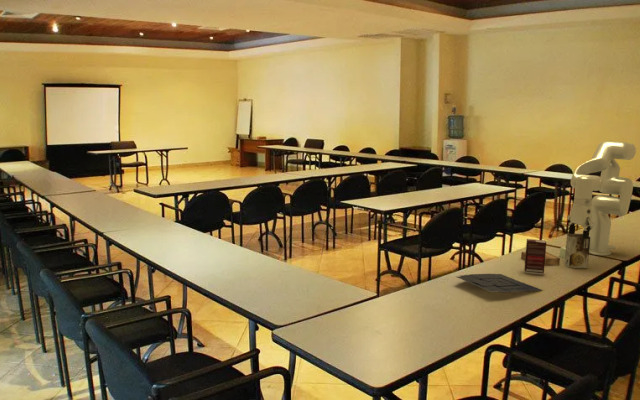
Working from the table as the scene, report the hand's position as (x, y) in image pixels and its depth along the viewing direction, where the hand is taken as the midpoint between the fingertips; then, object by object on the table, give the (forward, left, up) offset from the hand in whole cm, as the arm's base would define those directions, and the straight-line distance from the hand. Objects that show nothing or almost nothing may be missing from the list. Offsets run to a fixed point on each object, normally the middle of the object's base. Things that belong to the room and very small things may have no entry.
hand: (578, 236), depth 251 cm
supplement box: (+26, +5, -16) cm, 31 cm away
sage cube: (-7, -14, -16) cm, 22 cm away
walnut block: (+12, -10, -16) cm, 23 cm away
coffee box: (-1, 0, -16) cm, 16 cm away
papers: (+55, +19, -16) cm, 60 cm away
